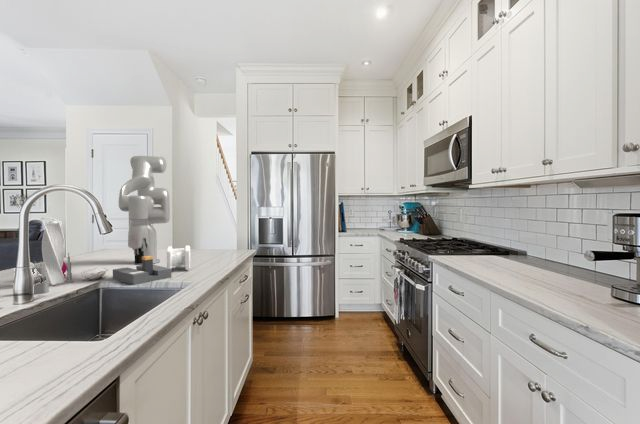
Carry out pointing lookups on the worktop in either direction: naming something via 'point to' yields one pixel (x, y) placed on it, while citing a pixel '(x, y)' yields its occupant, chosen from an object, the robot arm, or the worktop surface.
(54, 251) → the skyscraper
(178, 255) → the cable organizer
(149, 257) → the block
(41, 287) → the power adapter
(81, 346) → the worktop surface
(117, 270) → the breaker panel
